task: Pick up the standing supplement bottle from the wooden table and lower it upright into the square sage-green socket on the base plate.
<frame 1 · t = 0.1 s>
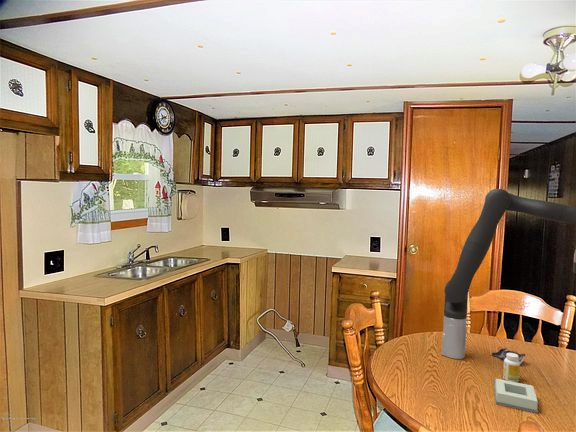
socket board: (514, 396, 136), on the table
snack package: (507, 360, 167), on the table
supplement bottle: (510, 379, 149), on the table
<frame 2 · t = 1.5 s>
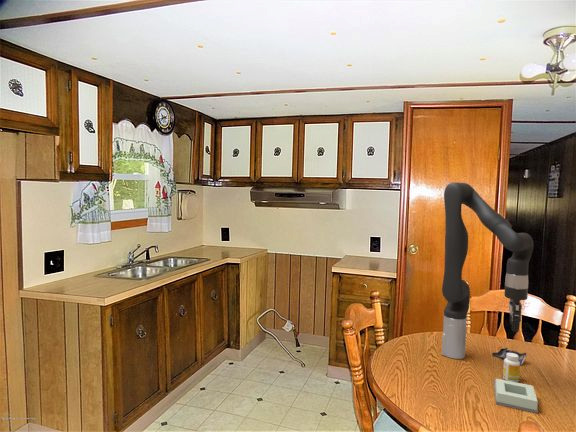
hand: (513, 327, 148), 20 cm above the table, tool pointing down, fingers open, 8 cm apart
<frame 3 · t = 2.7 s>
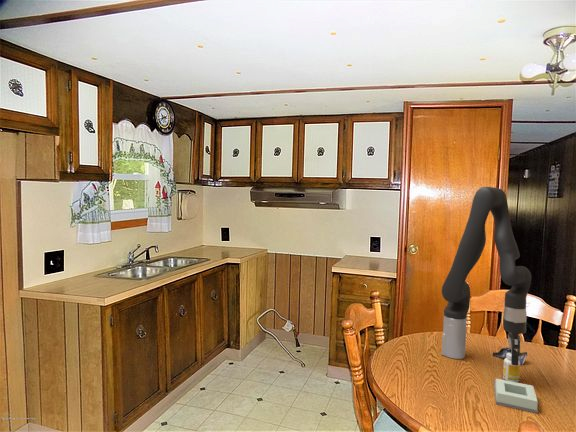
hand: (513, 360, 148), 7 cm above the table, tool pointing down, fingers open, 8 cm apart
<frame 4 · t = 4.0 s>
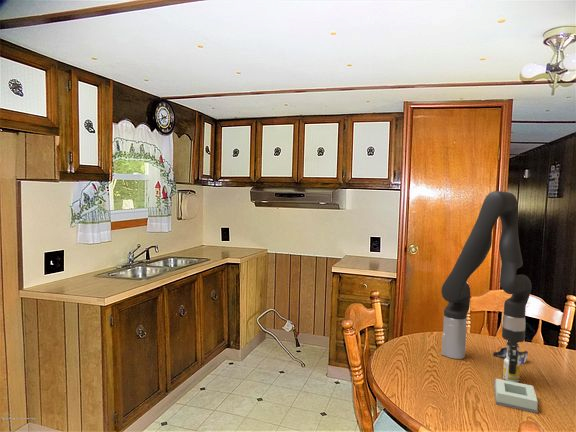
hand: (511, 370, 149), 3 cm above the table, tool pointing down, fingers closed on supplement bottle, 5 cm apart
supplement bottle: (510, 379, 149), on the table, touching gripper
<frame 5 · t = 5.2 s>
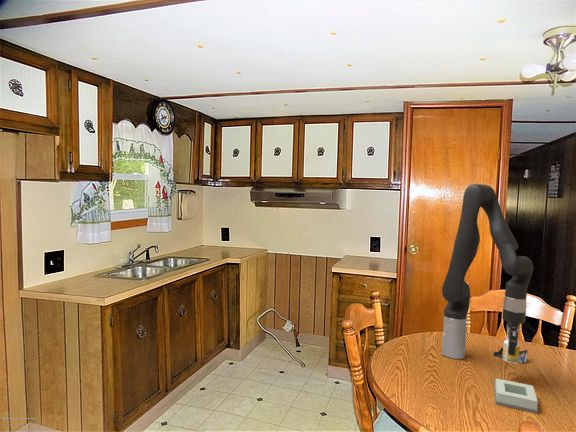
hand: (510, 351, 149), 11 cm above the table, tool pointing down, fingers closed on supplement bottle, 5 cm apart
supplement bottle: (510, 361, 149), point 7 cm above the table, touching gripper
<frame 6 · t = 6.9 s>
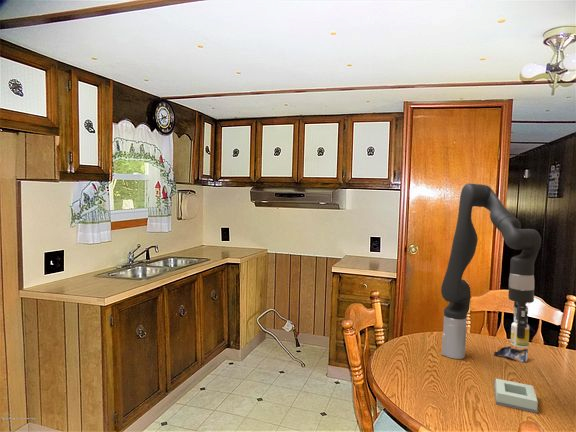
hand: (519, 335, 134), 22 cm above the table, tool pointing down, fingers closed on supplement bottle, 5 cm apart
supplement bottle: (519, 345, 135), point 18 cm above the table, touching gripper
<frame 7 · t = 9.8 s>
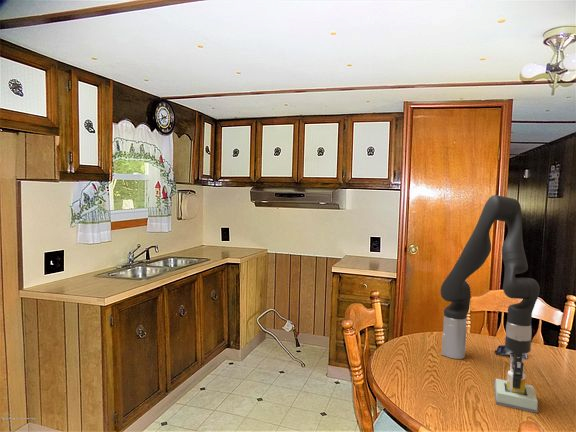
hand: (515, 383, 134), 6 cm above the table, tool pointing down, fingers closed on supplement bottle, 5 cm apart
snack package: (509, 355, 172), on the table
supplement bottle: (515, 394, 134), point 2 cm above the table, touching gripper
when the fingers open (6 cm above the table, at t = 9.8 s): supplement bottle drops 1 cm, resting on socket board.
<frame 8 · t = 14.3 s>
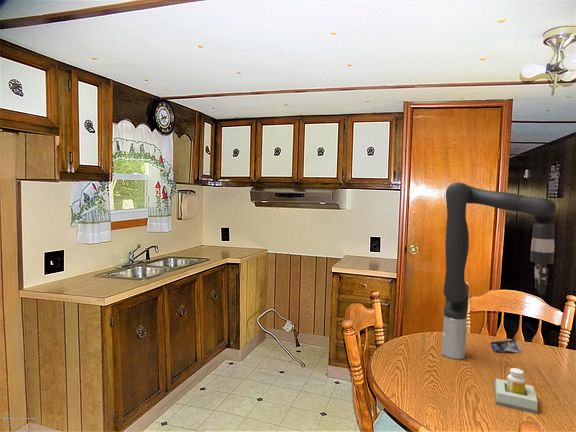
hand: (540, 291, 151), 33 cm above the table, tool pointing down, fingers open, 8 cm apart
snack package: (504, 351, 177), on the table
supplement bottle: (515, 398, 134), point 1 cm above the table, touching socket board
at the end: supplement bottle 0.1 cm from the target spot on the socket board, point 0.6 cm above the socket board's base; supplement bottle tilted 0°; the gripper is holding nothing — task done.
